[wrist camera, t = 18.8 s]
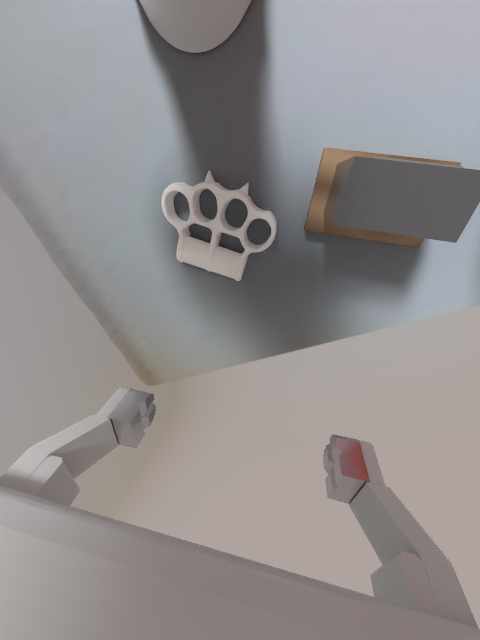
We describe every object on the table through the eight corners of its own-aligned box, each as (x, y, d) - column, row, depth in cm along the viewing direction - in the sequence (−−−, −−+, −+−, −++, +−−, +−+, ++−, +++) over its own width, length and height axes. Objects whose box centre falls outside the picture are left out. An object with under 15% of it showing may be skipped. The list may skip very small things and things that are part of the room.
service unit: (337, 161, 30) (355, 152, 21) (438, 172, 29) (499, 168, 20) (322, 216, 33) (333, 227, 25) (411, 229, 32) (454, 245, 24)
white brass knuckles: (165, 251, 43) (174, 157, 35) (259, 283, 42) (289, 194, 34) (156, 256, 40) (164, 155, 32) (256, 290, 39) (288, 195, 32)
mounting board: (323, 149, 31) (324, 147, 29) (454, 163, 29) (461, 162, 28) (304, 228, 36) (304, 230, 35) (414, 245, 34) (418, 247, 33)
